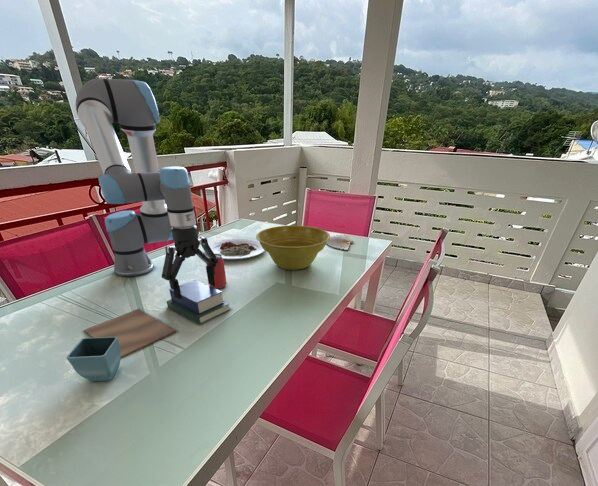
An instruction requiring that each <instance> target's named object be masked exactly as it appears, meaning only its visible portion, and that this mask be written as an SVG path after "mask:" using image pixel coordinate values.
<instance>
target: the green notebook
mask: <svg viewBox="0 0 598 486" xmlns="http://www.w3.org/2000/svg"><path fill="white" fill-rule="evenodd" d="M165 302H166V306H167V308H168V309H169V310H172V311H173V312H174V313H177V314H179V315H181V316H183V317H185V318H187V319H188V320H190V321H192V322H194V323H196V324H197V325H202V324H204V323H206V322H208V321H210V320H212V319H214V318H217V317H218V316H221V315H223V314H225V313H227V312H230V311H231V308H230V302H227V301H225V300H223V303H224V304H222V305H219V306H217V307H215V308H213V309H211V310H208V311H206V312H204V313H202V314H200V315H198V314H196V313H194V312H192V311H190V310H188V309H186V308H184V307H182V306H180V305H178V304H176V303H174V302H173V301H172V299H171V298H170V299H169V300H166V301H165Z"/></svg>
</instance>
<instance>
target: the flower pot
mask: <svg viewBox="0 0 598 486" xmlns="http://www.w3.org/2000/svg"><path fill="white" fill-rule="evenodd" d="M65 358H66V360H67V361H68V363H69V364H70V365H71V367H72V368H73V369H74V370H75V372H76V374H78V375H79V376H80V377H82V378H83V379H85V380H86V381H87V380H88V381H90V382H100V381H103V382H104V381H105V382H106V381H112V379H113V378H114V377H115V374H116V373H117V372H118V370H119V367H120V364H121V359H122V358H121V353H120V347H119V342H118V337H97V338H93V337H82V338H81V339H80V340H79V341H78V342H77V344H76V345H75V346H74V347H73V348H72V350H71V351H70V352H69V353H68V354H67V355H66V357H65Z"/></svg>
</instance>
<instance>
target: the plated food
mask: <svg viewBox="0 0 598 486" xmlns="http://www.w3.org/2000/svg"><path fill="white" fill-rule="evenodd" d="M208 245H209V246H210V248H211V250H212V251H213V253H214V254H220V255H222V258H223V260H232V261H233V260H245V259H249V258H253V257H256V256H260V255H261V254H263V253H264V252H266V251H265V250H264V249H263V248H262V246H261V244H260V242H259V241H258V240H257V239H249V238H230V239H229V238H227V239H221V240H217V241H213V242H211V243H208ZM204 254H205V255H207V253H206V252H205V251H204Z"/></svg>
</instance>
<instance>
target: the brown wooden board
mask: <svg viewBox="0 0 598 486" xmlns="http://www.w3.org/2000/svg"><path fill="white" fill-rule="evenodd" d="M83 332H84V333H86V334H87V335H89V336H90V338H97V337H118V342H119V347H120V353H121V359H122V358H124V357H126V356H128V355H130V354H132V353H134V352H136V351H139V350H140V349H143V348H144V347H147V346H149V345H151V344H153V343H156V342H158V341H160V340H162V339H164V338H167V337H169V336H170V335H173V334H174V333H176V332H177V330H175V329H174V328H172V327H170V326H168V325H167V324H165V323H163V322H162V321H160V320H159V319H156V318H155V317H153V316H151V315H149V314H148V313H146V312H145V311H142V310H141V309H139V308H137V309H134V310H132V311H129V312H126V313H124V314H121V315H119V316H116V317H114V318H111V319H108V320H106V321H103V322H101V323H97V324H96V325H93V326H91V327H88V328H85V329H84V330H83Z"/></svg>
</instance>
